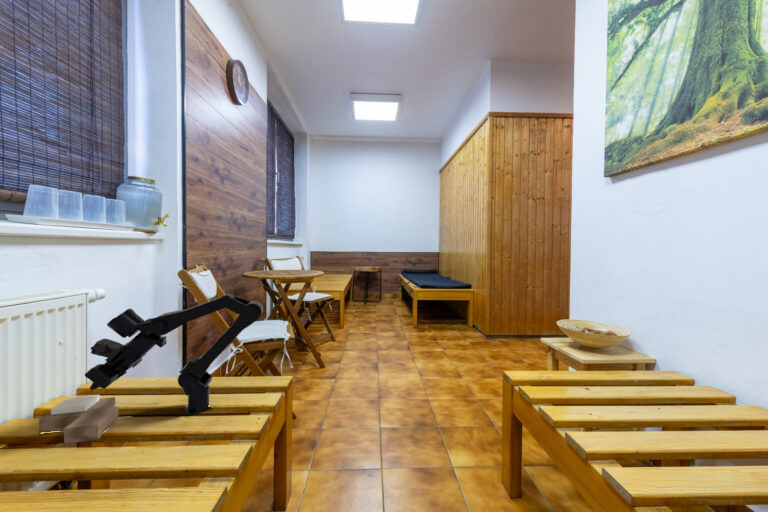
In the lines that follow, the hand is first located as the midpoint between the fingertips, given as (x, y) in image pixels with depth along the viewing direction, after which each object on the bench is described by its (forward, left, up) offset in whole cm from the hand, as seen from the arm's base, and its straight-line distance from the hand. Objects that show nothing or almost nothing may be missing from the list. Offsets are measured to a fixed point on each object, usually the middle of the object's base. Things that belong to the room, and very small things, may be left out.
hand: (91, 388), depth 87 cm
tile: (0, 0, -4) cm, 4 cm away
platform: (-3, +2, -9) cm, 10 cm away
